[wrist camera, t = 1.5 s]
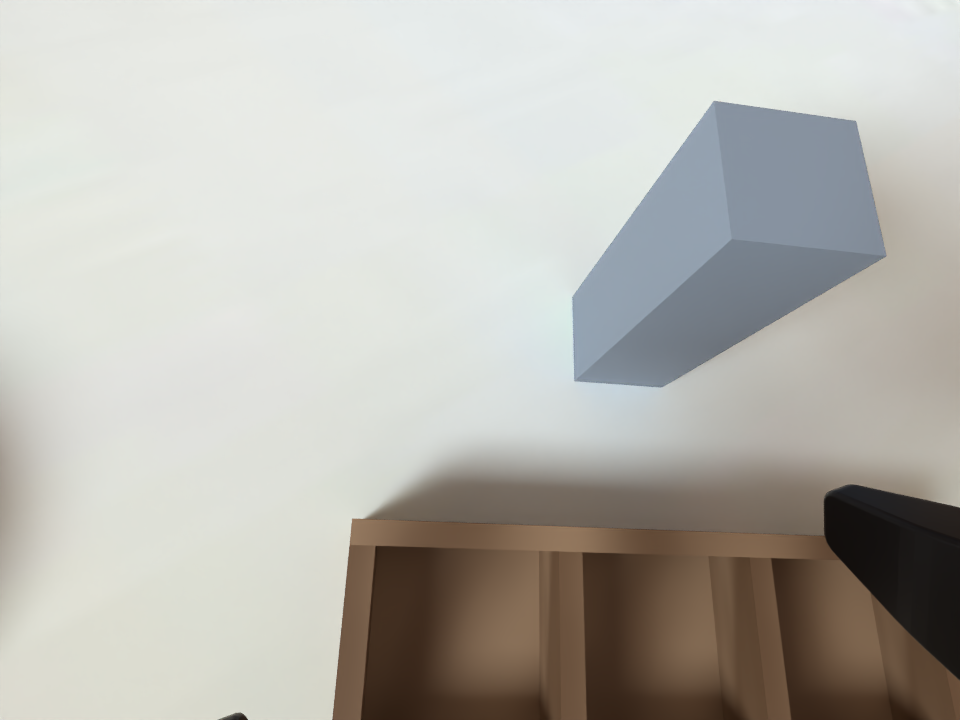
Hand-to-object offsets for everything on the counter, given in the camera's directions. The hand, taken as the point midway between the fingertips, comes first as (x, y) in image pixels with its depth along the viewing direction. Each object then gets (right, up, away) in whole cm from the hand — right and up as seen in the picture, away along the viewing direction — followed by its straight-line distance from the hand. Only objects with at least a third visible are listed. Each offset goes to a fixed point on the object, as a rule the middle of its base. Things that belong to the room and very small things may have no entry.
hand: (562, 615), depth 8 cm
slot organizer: (+5, -7, +13) cm, 16 cm away
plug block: (+5, +5, +17) cm, 18 cm away
